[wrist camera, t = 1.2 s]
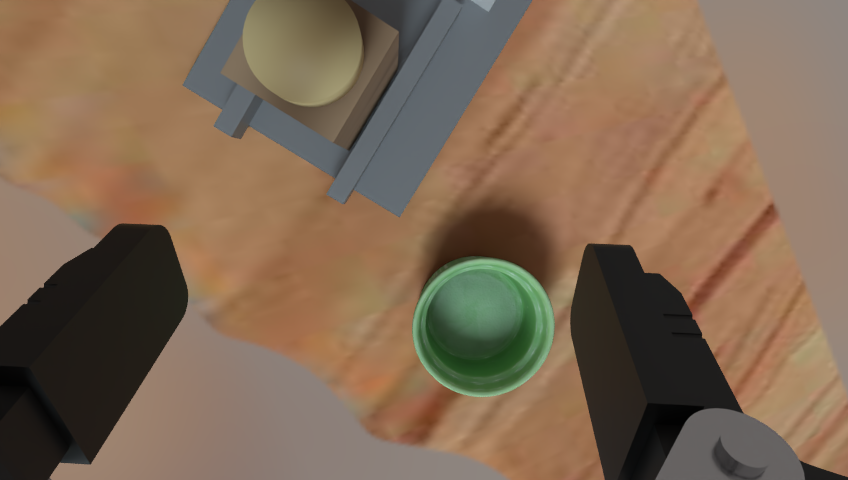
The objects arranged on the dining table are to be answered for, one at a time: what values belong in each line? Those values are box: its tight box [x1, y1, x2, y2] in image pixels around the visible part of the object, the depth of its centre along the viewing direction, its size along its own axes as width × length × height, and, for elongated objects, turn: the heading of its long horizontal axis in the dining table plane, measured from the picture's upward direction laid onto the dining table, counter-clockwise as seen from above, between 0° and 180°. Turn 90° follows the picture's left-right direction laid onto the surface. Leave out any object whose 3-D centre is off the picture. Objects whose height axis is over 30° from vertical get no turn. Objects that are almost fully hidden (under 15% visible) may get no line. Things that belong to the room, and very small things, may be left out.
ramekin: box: [412, 256, 555, 397], centre depth 35 cm, size 9×9×4 cm
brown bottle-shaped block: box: [220, 0, 399, 151], centre depth 28 cm, size 6×6×11 cm
